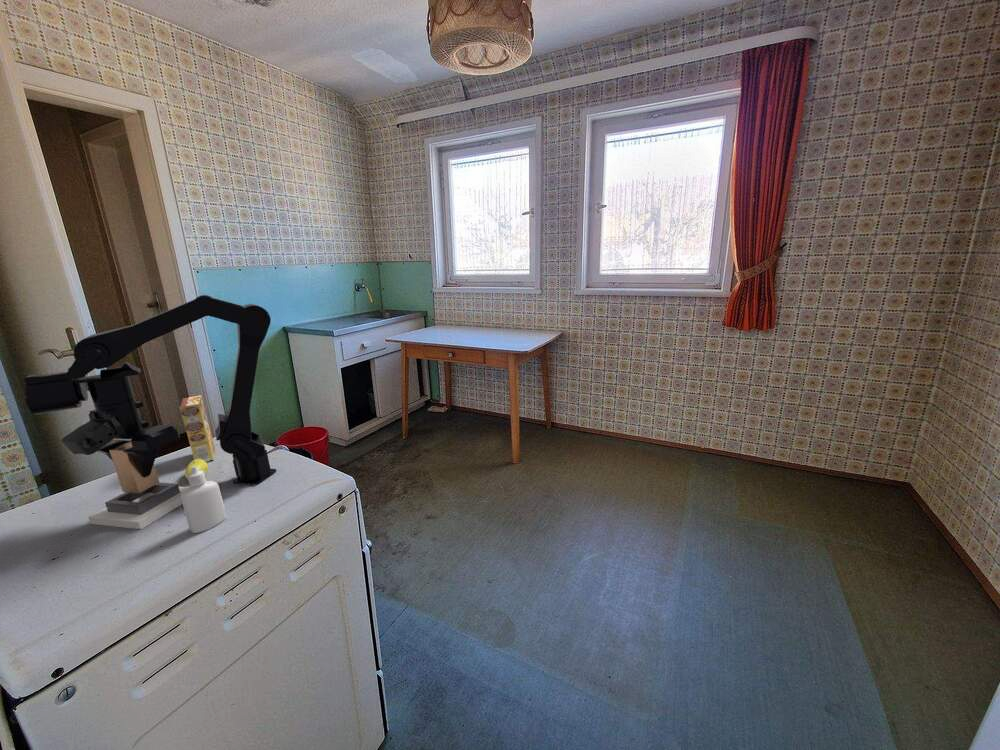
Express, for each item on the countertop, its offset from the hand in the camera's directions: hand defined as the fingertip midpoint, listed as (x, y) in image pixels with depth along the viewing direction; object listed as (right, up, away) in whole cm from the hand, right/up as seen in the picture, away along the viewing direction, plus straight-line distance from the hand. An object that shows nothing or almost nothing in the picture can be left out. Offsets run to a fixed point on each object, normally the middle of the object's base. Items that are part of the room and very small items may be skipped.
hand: (138, 475), depth 81 cm
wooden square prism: (0, -2, +1) cm, 2 cm away
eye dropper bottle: (+17, -8, -5) cm, 20 cm away
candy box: (-4, -1, +24) cm, 25 cm away
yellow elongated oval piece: (+1, -4, +15) cm, 15 cm away
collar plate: (0, -7, +2) cm, 7 cm away
